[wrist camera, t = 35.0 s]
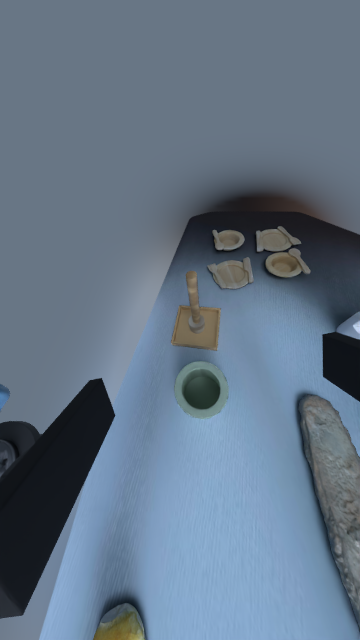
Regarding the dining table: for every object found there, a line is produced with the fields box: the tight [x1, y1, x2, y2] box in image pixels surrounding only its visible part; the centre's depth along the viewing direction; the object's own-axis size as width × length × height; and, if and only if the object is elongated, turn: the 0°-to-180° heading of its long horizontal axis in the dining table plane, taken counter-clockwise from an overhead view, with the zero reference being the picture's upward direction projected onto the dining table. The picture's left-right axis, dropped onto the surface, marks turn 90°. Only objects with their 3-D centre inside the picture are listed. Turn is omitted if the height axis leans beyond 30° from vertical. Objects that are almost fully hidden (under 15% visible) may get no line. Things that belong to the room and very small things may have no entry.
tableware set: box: [207, 226, 311, 289], centre depth 63 cm, size 35×29×4 cm
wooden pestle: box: [186, 271, 205, 334], centre depth 43 cm, size 5×5×22 cm
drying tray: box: [171, 305, 221, 351], centre depth 52 cm, size 13×13×2 cm
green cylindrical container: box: [174, 361, 229, 419], centre depth 37 cm, size 10×10×13 cm
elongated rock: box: [299, 395, 360, 630], centre depth 29 cm, size 35×5×10 cm
